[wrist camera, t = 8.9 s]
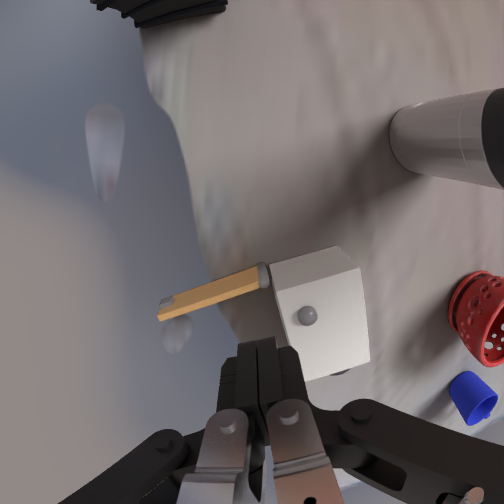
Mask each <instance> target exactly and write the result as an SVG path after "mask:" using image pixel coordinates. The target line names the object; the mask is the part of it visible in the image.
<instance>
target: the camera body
mask: <svg viewBox="0 0 504 504" xmlns="http://www.w3.org/2000/svg"><path fill="white" fill-rule="evenodd" d="M269 266H270V270H271V274H272V278H271V282H272V287H273V291H274V295H275V299H276V303H277V306H278V310H279V313H280V317H281V321H282V324H283V328H284V331H285V335H286V339H287V342H288V346H292V347H293V348H294V349H295V350H296V351H297V352H298V354H299V359H300V363H301V368H302V372H303V377H304V381H305V382H306V381H310V380H313V379H317V378H320V377H324V376H327V375H340V374H343V373H345V372H347V371H348V370H349V369H351V368H352V367H355V366H358V365H361V364H364V363H367V362H370V352H369V340H368V329H367V319H366V310H365V301H364V293H363V285H362V278H361V271H360V267H359V266H358V265H357V264H356V263H355V262H354V261H353V260H352V259H351V258H350V257H349V256H348V255H347V254H346V253H345V252H344V251H343V250H342V249H341V248H340V247H339V246H338V245H337V246H333V247H330V248H326V249H323V250H319V251H316V252H312V253H309V254H305V255H302V256H298V257H295V258H291V259H287V260H284V261H280V262H277V263H273V264H270V265H269Z"/></svg>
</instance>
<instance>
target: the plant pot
mask: <svg viewBox="0 0 504 504" xmlns="http://www.w3.org/2000/svg"><path fill="white" fill-rule="evenodd" d="M448 318H449V323H450V326H451V328H452V329H453V330H454V331H455V332H456V333H458V334H460V337H461V339H462V341H463V343H464V344H465V346H466V347H467V349H468V350H469V351H470V352H471V353H472V355H473V356H474V357H475V358H476V359H477V360H478V361H479V362H480V363H482V364H483V365H484V366H486V367H495V366H498V365H500V364H502V363H503V362H504V341H503V342H502V341H501V338H503V337H504V331H503V330H501V326H502V324H504V277H500V276H493V275H492V274H491V273H489V272H487V271H477V272H474V273H472V274H470V275H469V276H467V277H466V278H465V279H464V280H463V281H462V282H461V283H460V284H459V286H458V287H457V288H456V290H455V292H454V294H453V296H452V298H451V301H450V305H449V311H448ZM493 334H496V335H497V336H496V338H493V337H492V335H493ZM485 342H491V343H493V348H492V349H486V348H485V347H484V345H485ZM497 347H501V348H502V349H501V350H497ZM484 355H485V356H486V357H485V356H484Z"/></svg>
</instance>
